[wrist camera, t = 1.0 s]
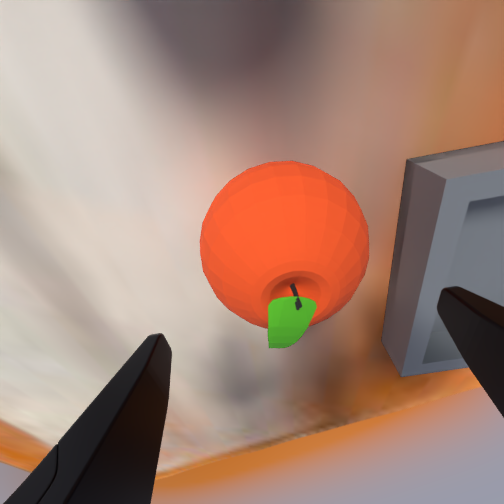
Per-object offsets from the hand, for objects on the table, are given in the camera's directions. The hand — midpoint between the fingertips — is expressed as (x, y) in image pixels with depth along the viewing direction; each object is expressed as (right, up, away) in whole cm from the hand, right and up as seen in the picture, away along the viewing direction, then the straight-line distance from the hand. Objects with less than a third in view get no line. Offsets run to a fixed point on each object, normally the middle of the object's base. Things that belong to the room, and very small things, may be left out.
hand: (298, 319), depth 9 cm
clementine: (-1, +4, +6) cm, 7 cm away
